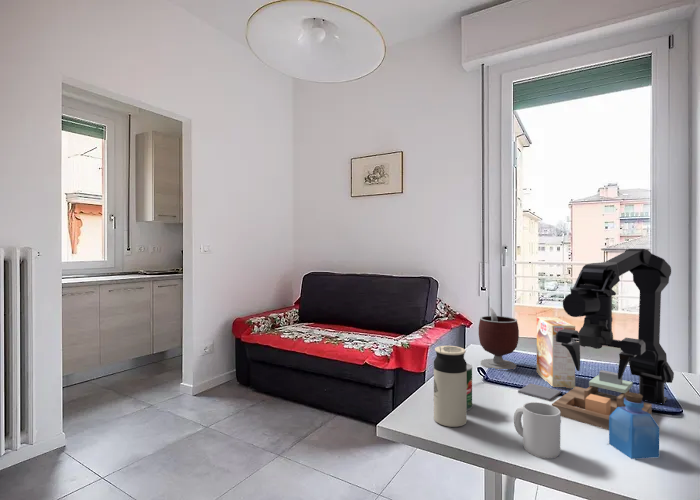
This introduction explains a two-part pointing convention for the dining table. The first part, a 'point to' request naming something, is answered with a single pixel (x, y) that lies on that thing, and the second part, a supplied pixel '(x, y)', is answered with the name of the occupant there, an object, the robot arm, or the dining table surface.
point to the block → (598, 404)
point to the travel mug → (450, 386)
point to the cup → (539, 429)
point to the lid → (610, 382)
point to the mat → (539, 392)
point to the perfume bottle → (634, 429)
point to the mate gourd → (498, 339)
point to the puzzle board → (589, 417)
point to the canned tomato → (469, 386)
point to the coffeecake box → (554, 353)
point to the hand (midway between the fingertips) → (598, 374)
